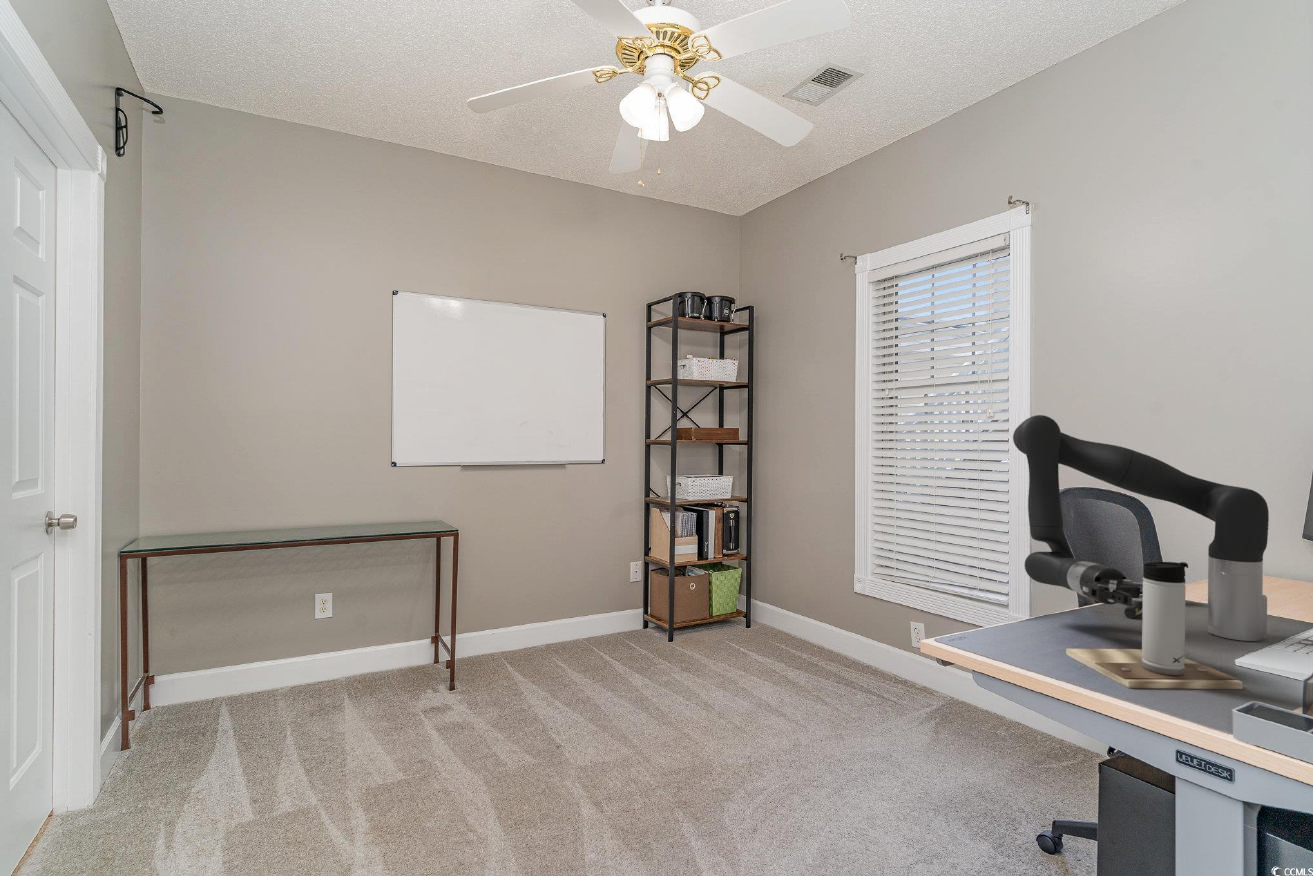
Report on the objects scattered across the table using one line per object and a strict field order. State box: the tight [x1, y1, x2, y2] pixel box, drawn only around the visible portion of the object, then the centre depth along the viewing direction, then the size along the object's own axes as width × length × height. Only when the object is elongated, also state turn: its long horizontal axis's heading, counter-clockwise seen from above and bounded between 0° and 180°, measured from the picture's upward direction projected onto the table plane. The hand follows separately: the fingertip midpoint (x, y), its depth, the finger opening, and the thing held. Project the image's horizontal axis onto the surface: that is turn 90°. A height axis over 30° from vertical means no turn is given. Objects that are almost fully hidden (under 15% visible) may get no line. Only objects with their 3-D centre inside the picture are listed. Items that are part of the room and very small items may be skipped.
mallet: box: [1123, 593, 1143, 620], centre depth 172 cm, size 29×6×10 cm, turn 131°
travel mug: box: [1141, 561, 1189, 676], centre depth 123 cm, size 6×7×20 cm
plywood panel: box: [1065, 648, 1244, 690], centre depth 126 cm, size 20×18×2 cm
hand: (1153, 600), depth 125 cm, fingers open, 8 cm apart
